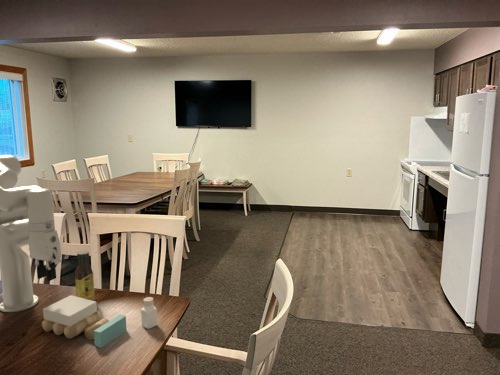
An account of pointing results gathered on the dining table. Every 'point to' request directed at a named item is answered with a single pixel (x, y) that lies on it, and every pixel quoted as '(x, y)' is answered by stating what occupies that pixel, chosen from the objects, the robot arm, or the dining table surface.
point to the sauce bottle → (84, 277)
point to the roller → (94, 328)
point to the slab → (70, 310)
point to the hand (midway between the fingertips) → (46, 277)
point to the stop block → (110, 330)
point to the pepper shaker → (149, 313)
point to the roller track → (75, 328)
